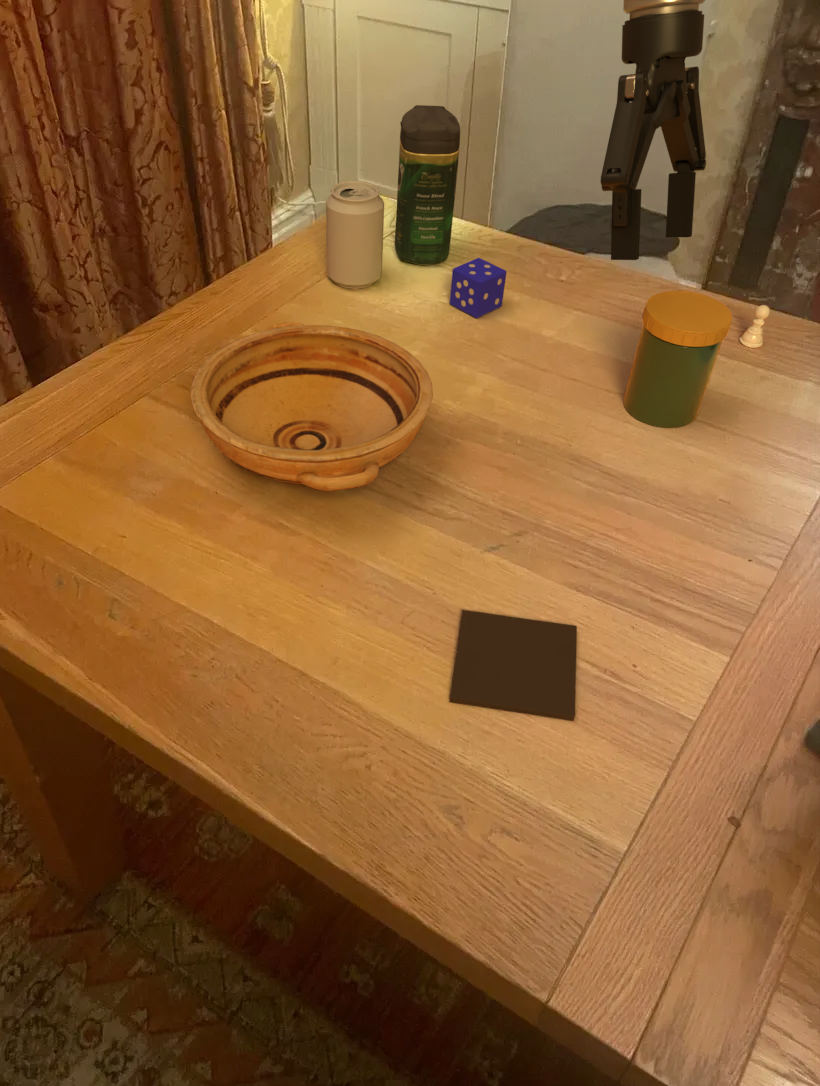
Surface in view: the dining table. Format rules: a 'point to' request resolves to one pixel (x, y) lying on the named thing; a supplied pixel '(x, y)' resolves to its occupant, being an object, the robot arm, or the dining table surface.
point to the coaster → (515, 665)
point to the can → (354, 234)
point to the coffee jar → (426, 184)
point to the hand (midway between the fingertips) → (652, 248)
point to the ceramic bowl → (312, 403)
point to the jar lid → (687, 318)
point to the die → (477, 287)
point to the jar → (668, 381)
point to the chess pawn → (756, 328)
